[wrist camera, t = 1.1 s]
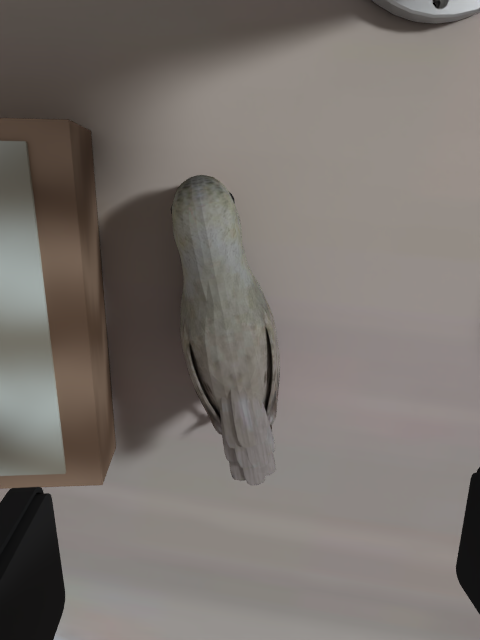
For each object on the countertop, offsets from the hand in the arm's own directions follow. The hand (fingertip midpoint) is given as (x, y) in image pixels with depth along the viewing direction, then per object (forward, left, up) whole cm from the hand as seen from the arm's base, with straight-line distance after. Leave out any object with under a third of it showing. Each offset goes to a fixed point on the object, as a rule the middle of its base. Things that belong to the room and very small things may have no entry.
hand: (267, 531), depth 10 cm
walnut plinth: (0, -13, -19) cm, 23 cm away
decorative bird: (0, 0, -19) cm, 19 cm away
